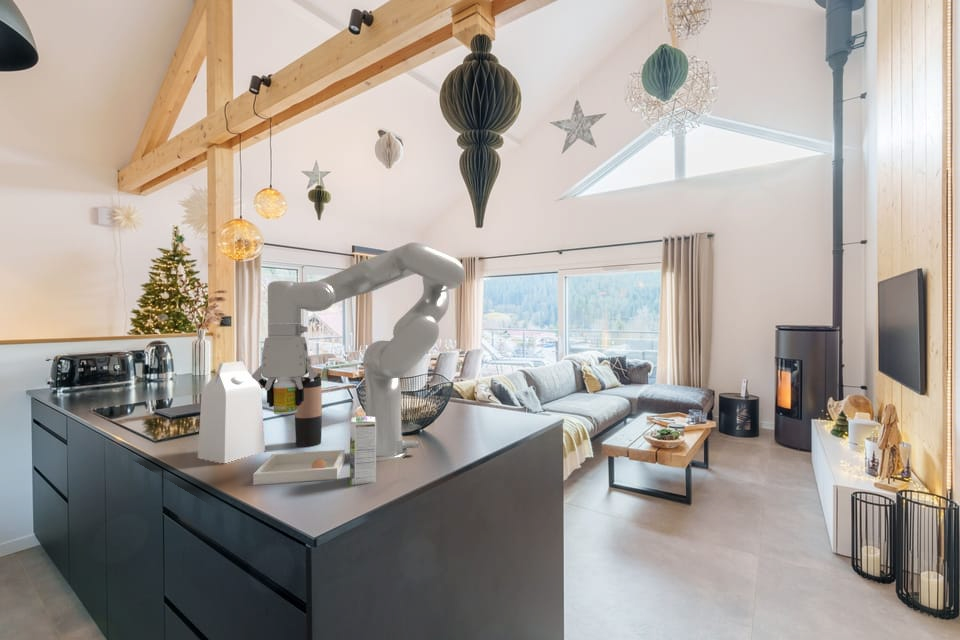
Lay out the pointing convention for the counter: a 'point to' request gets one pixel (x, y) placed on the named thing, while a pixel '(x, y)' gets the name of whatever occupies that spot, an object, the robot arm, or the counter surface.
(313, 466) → the ball
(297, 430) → the travel mug
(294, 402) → the supplement bottle
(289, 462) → the tray
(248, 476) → the counter surface
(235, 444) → the milk
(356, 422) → the syrup box
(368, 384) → the robot arm
